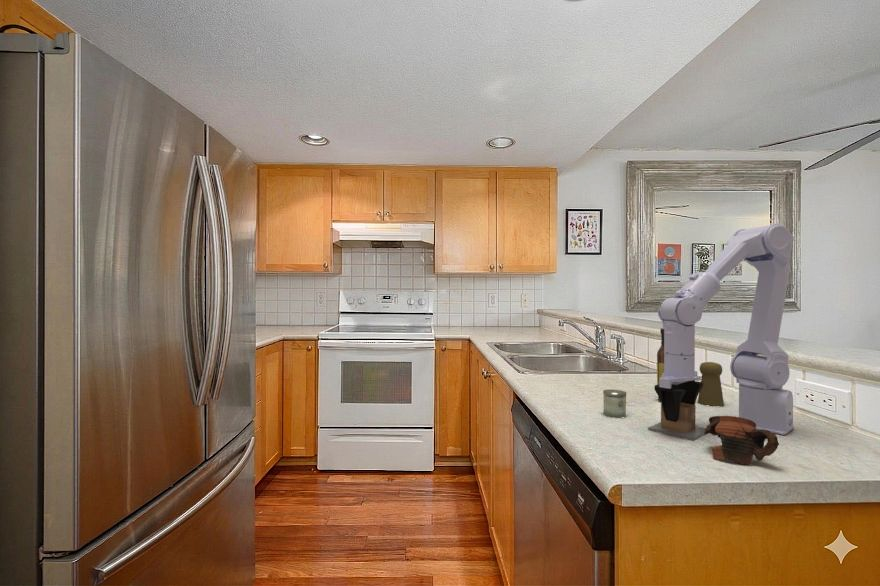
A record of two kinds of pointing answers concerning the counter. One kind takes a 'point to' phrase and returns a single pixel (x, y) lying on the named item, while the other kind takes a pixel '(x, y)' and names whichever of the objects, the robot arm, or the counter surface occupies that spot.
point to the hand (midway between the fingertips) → (679, 417)
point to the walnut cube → (681, 419)
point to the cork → (711, 384)
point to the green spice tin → (614, 403)
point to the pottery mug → (740, 439)
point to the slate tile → (690, 435)
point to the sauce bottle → (660, 358)
